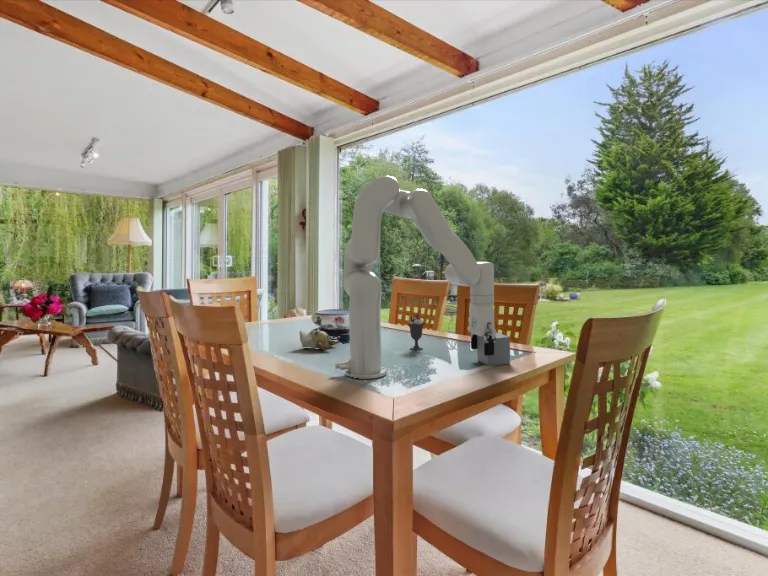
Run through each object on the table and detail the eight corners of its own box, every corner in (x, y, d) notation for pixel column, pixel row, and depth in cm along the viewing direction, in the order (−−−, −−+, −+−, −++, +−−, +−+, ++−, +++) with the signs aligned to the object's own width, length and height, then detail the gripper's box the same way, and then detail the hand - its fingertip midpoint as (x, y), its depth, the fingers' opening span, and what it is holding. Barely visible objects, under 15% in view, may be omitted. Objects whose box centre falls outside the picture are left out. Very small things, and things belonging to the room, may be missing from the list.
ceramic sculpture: (304, 324, 175) (340, 327, 172) (304, 345, 176) (339, 348, 173) (294, 329, 165) (332, 332, 162) (294, 351, 165) (331, 354, 163)
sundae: (424, 351, 161) (423, 311, 160) (406, 350, 163) (406, 311, 162) (426, 347, 168) (425, 309, 167) (409, 347, 169) (408, 309, 168)
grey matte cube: (488, 366, 139) (487, 338, 138) (477, 360, 146) (477, 334, 145) (509, 363, 140) (509, 337, 140) (498, 358, 148) (497, 332, 147)
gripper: (460, 298, 148) (460, 347, 149) (483, 303, 131) (483, 358, 133) (480, 297, 150) (480, 345, 151) (505, 302, 133) (505, 357, 134)
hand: (482, 351), depth 142 cm, fingers open, 9 cm apart
